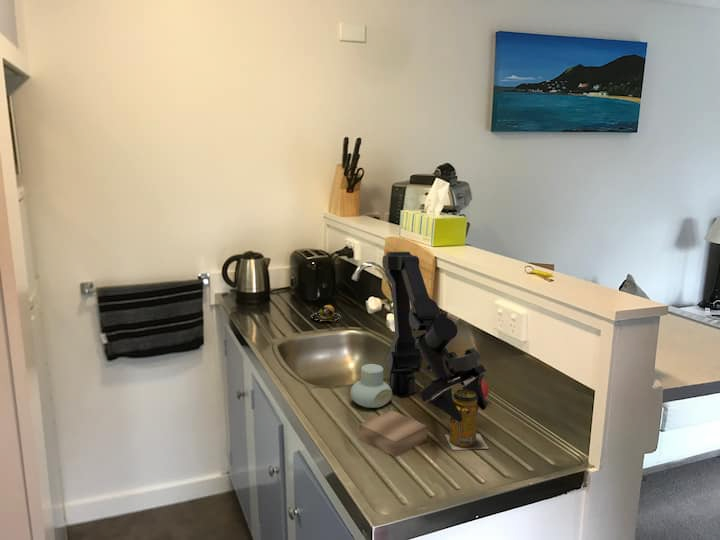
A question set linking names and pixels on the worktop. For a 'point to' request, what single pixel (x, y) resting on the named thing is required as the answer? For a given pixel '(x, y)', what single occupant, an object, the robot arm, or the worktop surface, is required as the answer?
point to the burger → (327, 313)
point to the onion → (484, 388)
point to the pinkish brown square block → (393, 433)
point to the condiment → (465, 423)
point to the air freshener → (371, 387)
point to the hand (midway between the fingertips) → (473, 415)
